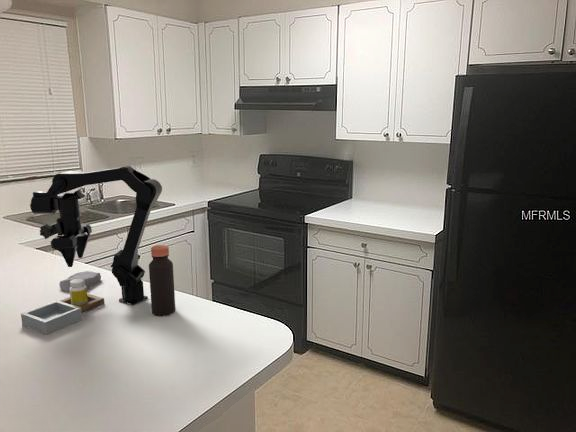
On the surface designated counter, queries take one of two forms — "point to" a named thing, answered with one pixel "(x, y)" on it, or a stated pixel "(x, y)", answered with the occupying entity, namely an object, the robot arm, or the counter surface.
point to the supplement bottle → (78, 292)
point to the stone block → (88, 277)
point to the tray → (51, 317)
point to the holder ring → (92, 302)
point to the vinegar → (161, 282)
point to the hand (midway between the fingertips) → (75, 262)
